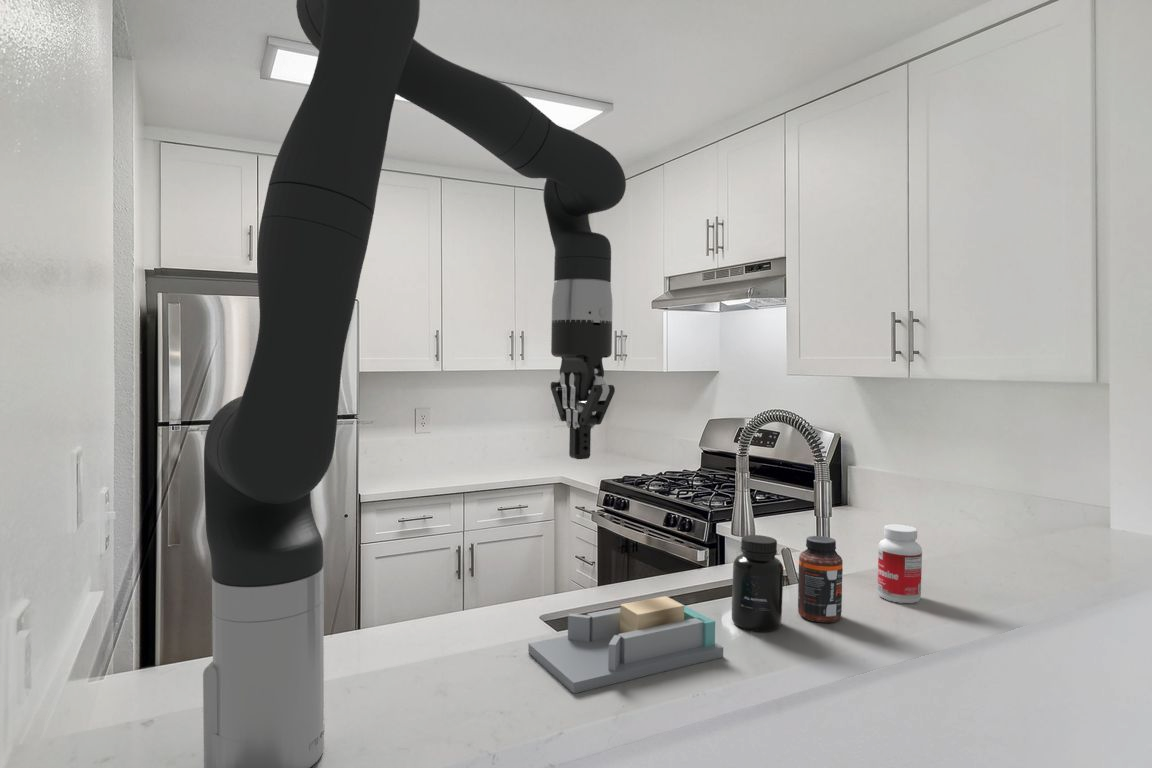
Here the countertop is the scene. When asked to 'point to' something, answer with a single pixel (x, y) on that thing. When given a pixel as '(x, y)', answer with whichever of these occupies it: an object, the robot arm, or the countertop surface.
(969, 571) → the countertop surface
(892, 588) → the pill bottle
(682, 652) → the guide board
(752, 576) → the supplement bottle
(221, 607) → the robot arm
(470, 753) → the countertop surface
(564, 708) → the countertop surface
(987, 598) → the countertop surface
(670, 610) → the beech block
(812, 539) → the supplement bottle
